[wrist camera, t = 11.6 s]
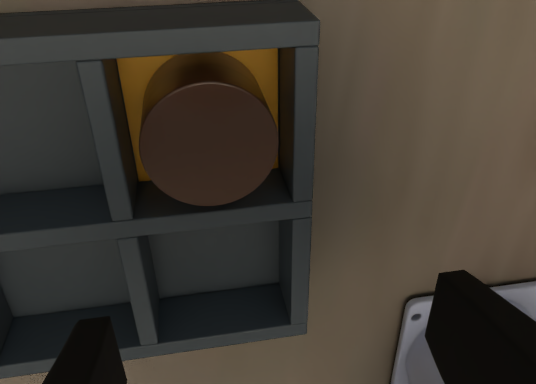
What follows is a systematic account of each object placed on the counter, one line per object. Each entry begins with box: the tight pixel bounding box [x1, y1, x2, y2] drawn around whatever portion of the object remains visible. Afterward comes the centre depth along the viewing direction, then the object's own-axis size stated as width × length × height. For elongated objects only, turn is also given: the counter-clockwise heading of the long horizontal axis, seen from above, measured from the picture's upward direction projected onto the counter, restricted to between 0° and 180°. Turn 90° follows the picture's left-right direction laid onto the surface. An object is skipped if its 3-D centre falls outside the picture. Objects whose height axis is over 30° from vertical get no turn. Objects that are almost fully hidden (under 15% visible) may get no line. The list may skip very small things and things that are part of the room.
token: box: [139, 52, 279, 206], centre depth 15 cm, size 4×4×3 cm
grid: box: [0, 0, 320, 379], centre depth 17 cm, size 12×12×3 cm
